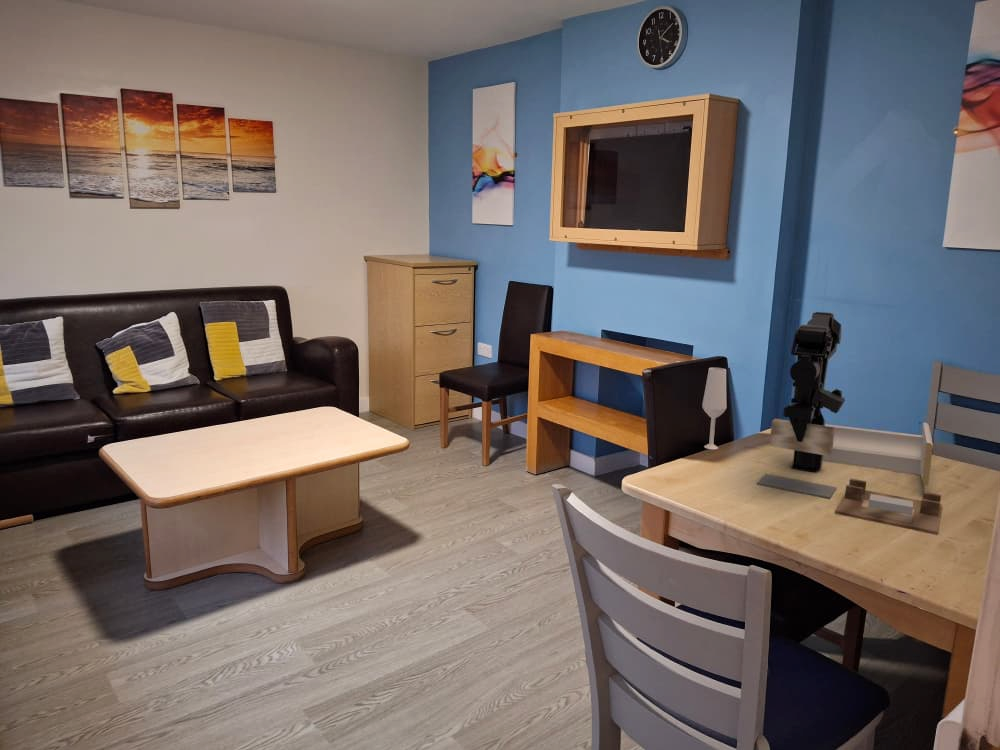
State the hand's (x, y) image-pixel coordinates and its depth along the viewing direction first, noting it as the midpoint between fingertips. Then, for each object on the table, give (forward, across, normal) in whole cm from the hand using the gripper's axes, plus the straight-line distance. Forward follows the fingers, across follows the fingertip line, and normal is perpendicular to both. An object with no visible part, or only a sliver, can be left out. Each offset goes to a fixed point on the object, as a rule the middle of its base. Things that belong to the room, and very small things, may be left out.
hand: (801, 440), depth 178 cm
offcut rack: (+12, 0, -21) cm, 24 cm away
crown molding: (+13, +30, -11) cm, 35 cm away
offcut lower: (+11, -10, -21) cm, 26 cm away
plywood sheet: (+2, 0, 0) cm, 2 cm away
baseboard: (+12, +27, -25) cm, 38 cm away
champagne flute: (+12, +19, +27) cm, 35 cm away
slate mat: (+12, 0, 0) cm, 12 cm away
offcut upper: (+10, -10, -22) cm, 26 cm away
